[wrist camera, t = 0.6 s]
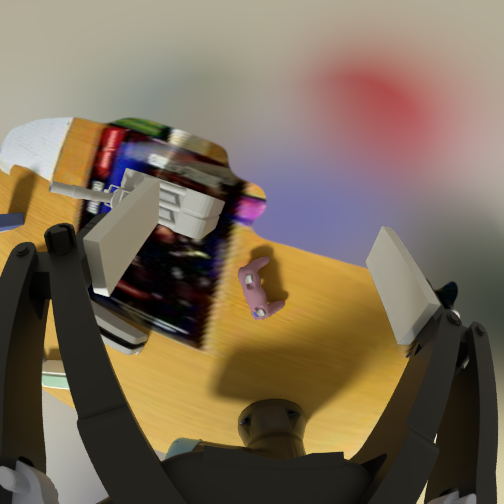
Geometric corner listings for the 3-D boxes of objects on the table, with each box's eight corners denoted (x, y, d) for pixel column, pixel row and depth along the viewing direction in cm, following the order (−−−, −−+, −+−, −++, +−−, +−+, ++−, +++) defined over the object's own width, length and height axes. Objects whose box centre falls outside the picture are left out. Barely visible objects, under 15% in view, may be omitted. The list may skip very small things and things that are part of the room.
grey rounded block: (76, 312, 47) (54, 315, 37) (84, 293, 48) (63, 292, 38) (141, 353, 49) (129, 366, 39) (150, 334, 50) (140, 343, 40)
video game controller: (247, 258, 48) (228, 272, 42) (270, 252, 46) (254, 266, 40) (265, 308, 49) (250, 327, 43) (288, 304, 47) (275, 324, 41)
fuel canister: (135, 200, 44) (43, 198, 19) (144, 174, 43) (58, 147, 19) (214, 229, 45) (181, 254, 21) (225, 201, 45) (203, 193, 20)
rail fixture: (92, 377, 50) (80, 392, 43) (48, 374, 50) (35, 386, 43) (51, 260, 45) (32, 267, 39) (11, 272, 45) (-7, 278, 39)
